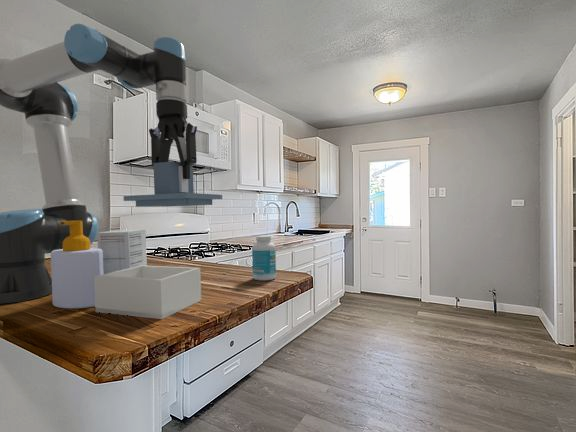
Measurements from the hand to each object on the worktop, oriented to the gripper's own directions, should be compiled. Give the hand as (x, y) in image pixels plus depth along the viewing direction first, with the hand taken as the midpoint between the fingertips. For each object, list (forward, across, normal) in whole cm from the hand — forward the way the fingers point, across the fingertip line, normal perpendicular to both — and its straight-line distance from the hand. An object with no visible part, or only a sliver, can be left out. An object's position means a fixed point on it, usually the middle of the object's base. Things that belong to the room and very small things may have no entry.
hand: (174, 192), depth 84 cm
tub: (+27, 0, -10) cm, 29 cm away
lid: (+3, 0, 0) cm, 3 cm away
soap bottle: (+27, -19, -13) cm, 36 cm away
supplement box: (+27, -20, +2) cm, 34 cm away
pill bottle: (+27, +14, +24) cm, 39 cm away
